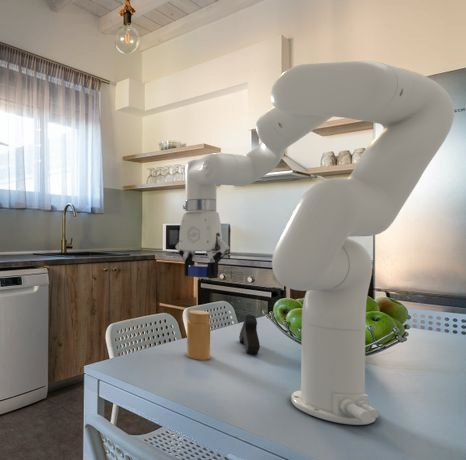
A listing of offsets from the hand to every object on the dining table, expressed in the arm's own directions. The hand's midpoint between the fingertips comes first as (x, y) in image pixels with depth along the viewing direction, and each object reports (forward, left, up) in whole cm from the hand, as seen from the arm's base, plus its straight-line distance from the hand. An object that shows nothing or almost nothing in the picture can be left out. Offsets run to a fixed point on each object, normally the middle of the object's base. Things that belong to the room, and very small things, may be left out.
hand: (200, 276), depth 104 cm
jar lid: (0, 0, 0) cm, 0 cm away
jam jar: (0, 0, -21) cm, 21 cm away
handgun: (+7, -17, -21) cm, 28 cm away
